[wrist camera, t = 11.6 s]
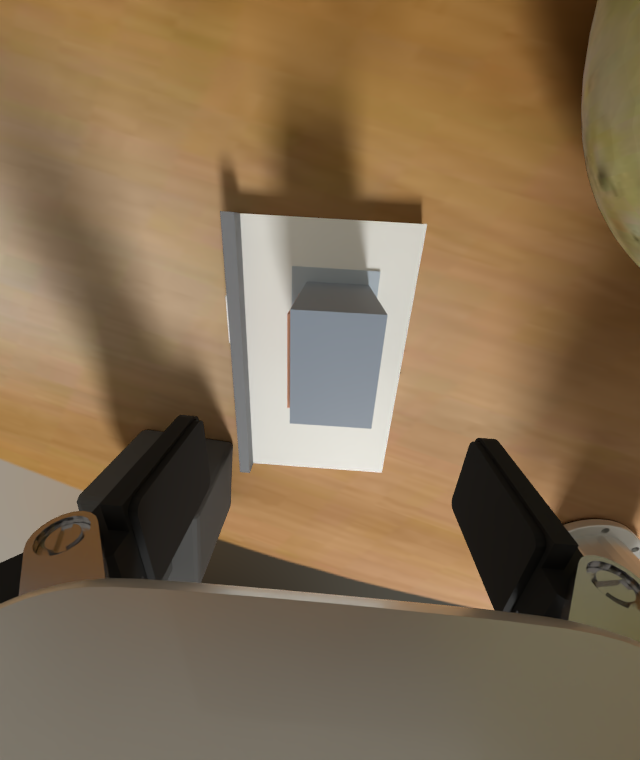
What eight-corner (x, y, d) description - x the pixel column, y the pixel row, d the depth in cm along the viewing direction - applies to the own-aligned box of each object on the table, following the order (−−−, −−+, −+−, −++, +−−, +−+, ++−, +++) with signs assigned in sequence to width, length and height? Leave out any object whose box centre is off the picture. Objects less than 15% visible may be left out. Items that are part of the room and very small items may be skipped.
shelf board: (379, 463, 35) (383, 482, 32) (245, 453, 35) (237, 471, 32) (422, 224, 24) (432, 223, 22) (229, 213, 24) (216, 211, 22)
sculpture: (143, 427, 34) (-598, 1176, 7) (234, 441, 34) (-145, 1216, 7) (150, 493, 38) (-288, 1112, 11) (231, 505, 39) (-11, 1139, 12)
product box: (368, 284, 25) (387, 315, 16) (359, 365, 28) (371, 428, 19) (303, 281, 25) (284, 308, 16) (301, 361, 28) (284, 423, 19)
